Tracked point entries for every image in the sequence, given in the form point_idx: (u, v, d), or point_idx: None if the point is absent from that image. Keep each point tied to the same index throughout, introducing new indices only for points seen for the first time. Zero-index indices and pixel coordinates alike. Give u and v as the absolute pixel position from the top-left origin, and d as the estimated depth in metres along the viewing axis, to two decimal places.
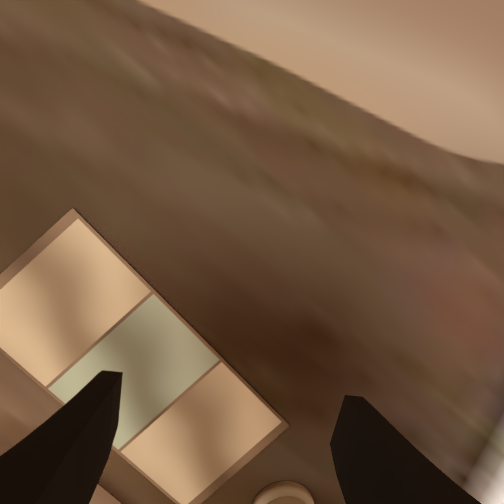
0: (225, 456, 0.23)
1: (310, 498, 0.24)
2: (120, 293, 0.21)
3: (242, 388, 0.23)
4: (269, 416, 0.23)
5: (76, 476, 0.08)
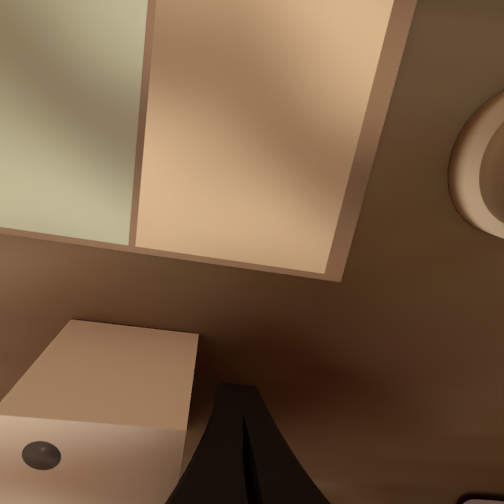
0: (334, 124, 0.10)
1: None
2: None
3: None
4: None
5: None
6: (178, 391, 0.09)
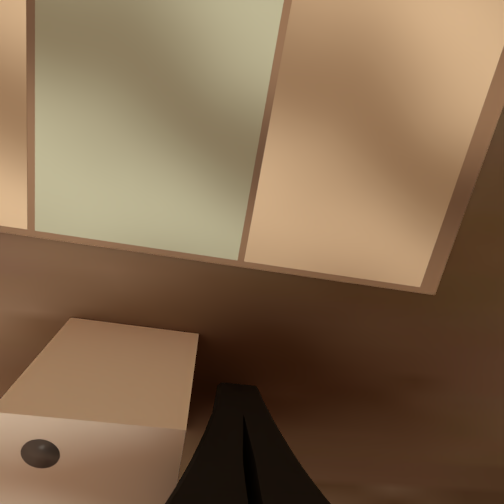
0: (442, 144, 0.10)
1: None
2: None
3: None
4: None
5: None
6: (177, 390, 0.09)
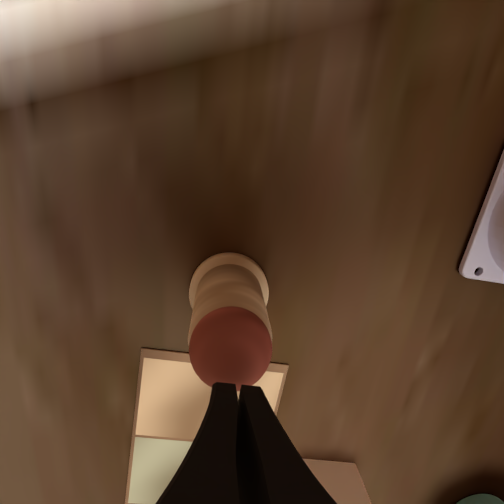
0: None
1: (190, 284, 0.19)
2: None
3: (144, 405, 0.22)
4: (147, 370, 0.21)
5: None
6: None
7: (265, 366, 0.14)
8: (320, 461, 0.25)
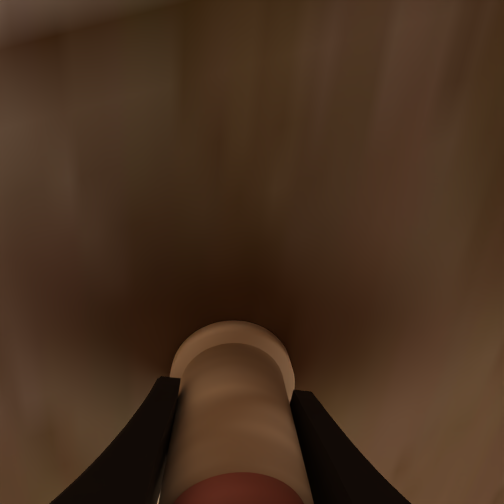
0: None
1: None
2: None
3: None
4: None
5: (155, 481, 0.08)
6: None
7: None
8: None
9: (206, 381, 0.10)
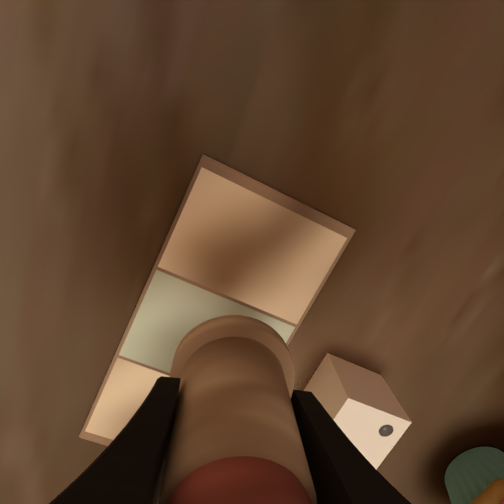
0: (270, 217, 0.19)
1: None
2: (133, 380, 0.21)
3: (179, 231, 0.19)
4: (199, 185, 0.18)
5: (155, 481, 0.08)
6: (337, 386, 0.19)
7: None
8: (346, 361, 0.22)
9: (208, 372, 0.10)
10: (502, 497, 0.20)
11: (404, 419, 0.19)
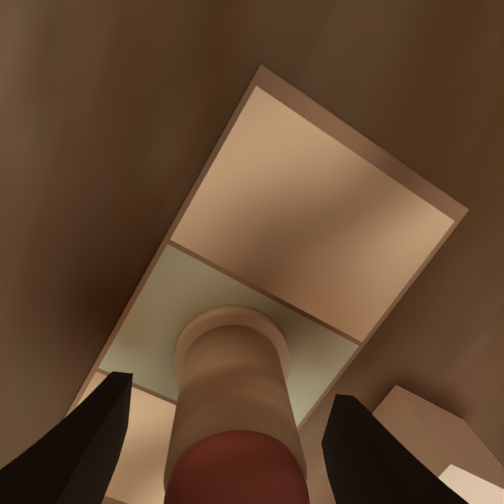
0: (348, 177, 0.12)
1: (175, 352, 0.13)
2: None
3: (209, 187, 0.12)
4: (249, 115, 0.11)
5: (90, 477, 0.08)
6: (424, 440, 0.13)
7: None
8: (421, 398, 0.15)
9: (209, 356, 0.11)
10: None
11: None
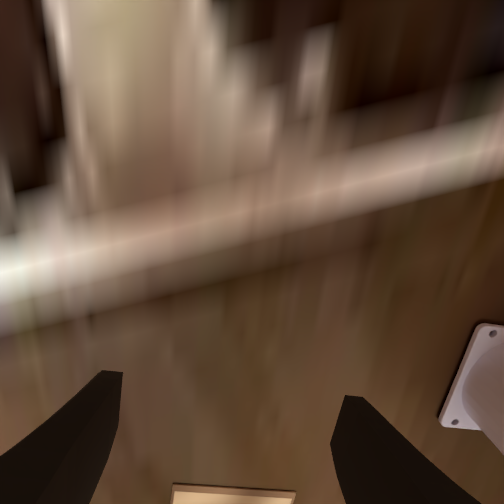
0: (232, 502, 0.26)
1: None
2: None
3: None
4: (177, 500, 0.25)
5: (76, 476, 0.08)
6: None
7: None
8: None
9: None
10: None
11: None
